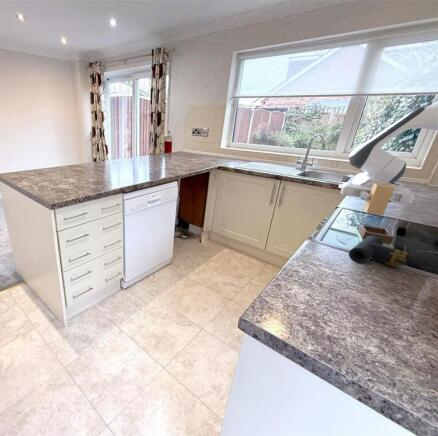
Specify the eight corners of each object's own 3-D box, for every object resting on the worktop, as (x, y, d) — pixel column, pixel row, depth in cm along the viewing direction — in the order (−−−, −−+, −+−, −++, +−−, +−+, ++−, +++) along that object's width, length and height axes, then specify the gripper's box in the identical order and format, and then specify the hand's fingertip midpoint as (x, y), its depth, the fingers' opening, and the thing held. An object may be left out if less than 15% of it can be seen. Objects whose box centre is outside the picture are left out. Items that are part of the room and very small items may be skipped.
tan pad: (363, 209, 91) (373, 183, 87) (379, 211, 89) (390, 184, 85) (366, 212, 88) (377, 185, 84) (382, 215, 85) (394, 187, 82)
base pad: (354, 231, 100) (358, 222, 98) (383, 236, 96) (387, 227, 94) (360, 243, 90) (364, 233, 89) (392, 249, 86) (397, 239, 85)
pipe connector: (412, 246, 78) (400, 260, 69) (405, 260, 80) (393, 276, 71) (366, 233, 86) (351, 244, 78) (361, 246, 88) (346, 259, 80)
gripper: (340, 177, 100) (345, 185, 89) (408, 185, 91) (423, 194, 80) (335, 192, 102) (340, 201, 91) (401, 201, 93) (414, 212, 82)
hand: (379, 198), depth 85 cm, fingers closed on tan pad, 4 cm apart
